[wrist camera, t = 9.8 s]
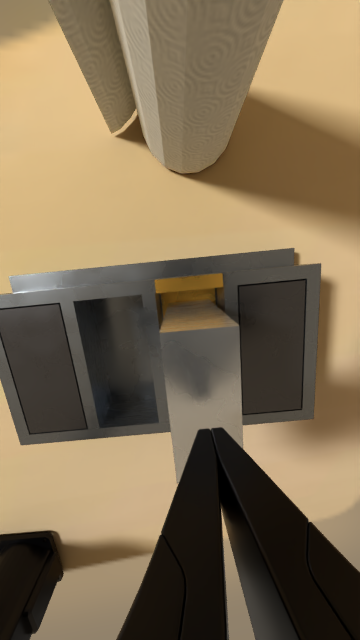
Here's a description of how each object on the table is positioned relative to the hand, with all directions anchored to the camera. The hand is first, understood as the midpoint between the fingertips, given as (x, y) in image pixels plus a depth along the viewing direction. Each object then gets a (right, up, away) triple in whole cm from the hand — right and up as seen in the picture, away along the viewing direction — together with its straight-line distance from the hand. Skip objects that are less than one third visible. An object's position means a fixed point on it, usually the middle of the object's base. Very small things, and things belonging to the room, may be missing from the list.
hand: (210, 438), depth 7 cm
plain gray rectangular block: (0, +2, +9) cm, 10 cm away
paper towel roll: (-1, +18, +7) cm, 19 cm away
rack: (-3, +2, +10) cm, 11 cm away
